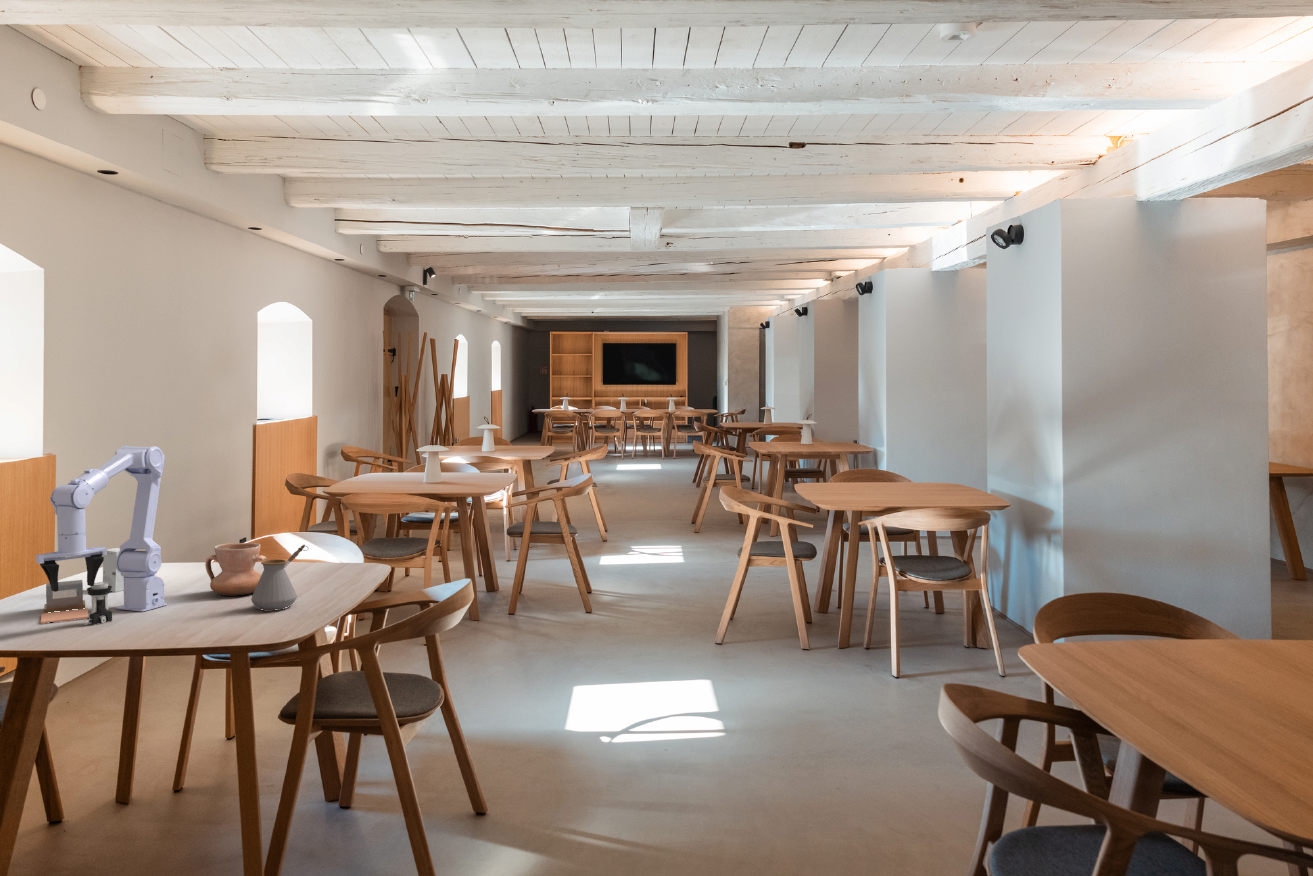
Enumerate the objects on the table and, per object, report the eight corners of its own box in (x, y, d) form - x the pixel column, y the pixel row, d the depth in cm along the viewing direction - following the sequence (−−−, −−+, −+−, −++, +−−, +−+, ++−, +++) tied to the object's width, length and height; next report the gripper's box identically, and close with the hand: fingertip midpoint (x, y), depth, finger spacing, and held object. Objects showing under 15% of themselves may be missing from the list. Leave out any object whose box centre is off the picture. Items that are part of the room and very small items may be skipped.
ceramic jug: (278, 588, 254) (278, 541, 253) (251, 599, 239) (251, 550, 239) (221, 586, 255) (221, 540, 254) (191, 597, 241) (191, 548, 240)
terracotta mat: (88, 618, 217) (88, 616, 217) (40, 624, 211) (40, 622, 211) (87, 610, 225) (87, 608, 225) (41, 615, 219) (41, 613, 219)
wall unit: (85, 608, 227) (84, 583, 226) (44, 613, 222) (43, 587, 221) (84, 604, 232) (84, 579, 231) (44, 608, 226) (44, 583, 226)
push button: (91, 627, 209) (90, 588, 208) (77, 625, 211) (76, 585, 210) (117, 621, 215) (116, 582, 214) (103, 619, 217) (102, 580, 216)
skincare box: (101, 590, 248) (101, 549, 248) (116, 587, 252) (115, 547, 252) (115, 592, 246) (114, 551, 245) (130, 589, 250) (129, 549, 250)
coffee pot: (281, 614, 224) (281, 558, 223) (242, 612, 226) (241, 556, 225) (324, 595, 245) (323, 544, 244) (287, 594, 247) (287, 543, 246)
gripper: (98, 528, 214) (99, 580, 214) (30, 535, 202) (31, 591, 203) (110, 531, 210) (111, 584, 210) (41, 538, 198) (43, 595, 199)
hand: (73, 588), depth 206 cm, fingers open, 7 cm apart
